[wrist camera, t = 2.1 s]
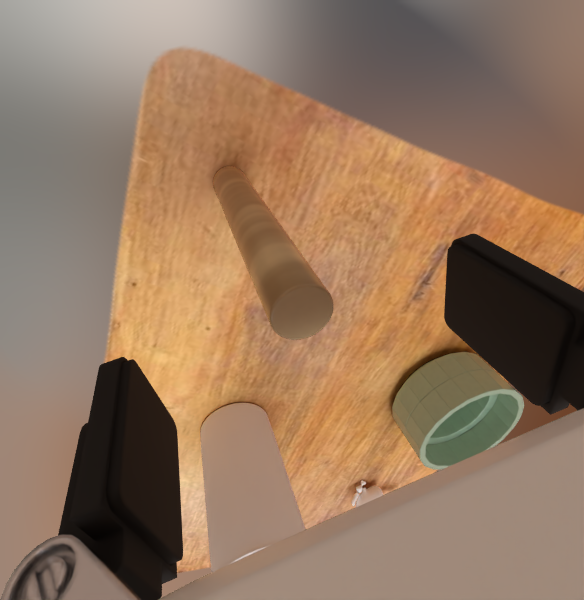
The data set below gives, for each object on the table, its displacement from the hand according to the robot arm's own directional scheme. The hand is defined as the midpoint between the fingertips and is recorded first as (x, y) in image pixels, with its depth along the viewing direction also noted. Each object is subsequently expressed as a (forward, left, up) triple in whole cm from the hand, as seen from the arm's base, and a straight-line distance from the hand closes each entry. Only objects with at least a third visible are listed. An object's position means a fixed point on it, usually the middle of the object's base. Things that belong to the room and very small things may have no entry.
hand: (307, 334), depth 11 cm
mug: (+22, -6, -15) cm, 28 cm away
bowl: (+27, +15, -15) cm, 34 cm away
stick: (0, 0, -15) cm, 15 cm away
